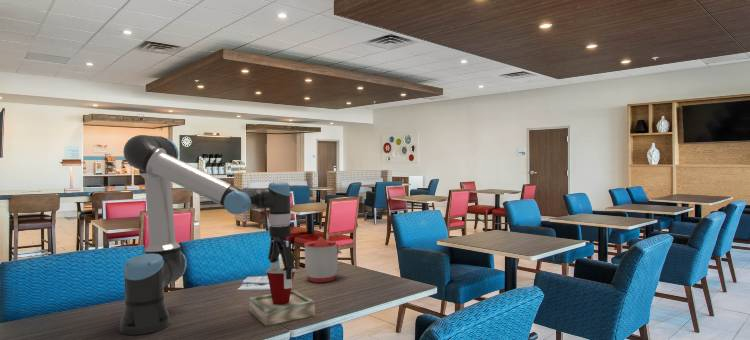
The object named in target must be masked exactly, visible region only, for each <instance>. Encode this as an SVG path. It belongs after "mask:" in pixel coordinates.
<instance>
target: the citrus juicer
mask: <svg viewBox="0 0 750 340" xmlns="http://www.w3.org/2000/svg"><path fill="white" fill-rule="evenodd" d="M303 245H304V266H305V272H306V276H307V278H308V281H310V282H313V283H327V282H328V283H330V282H332V281H333V280H335V278H336V276H337V271H338V270H337V269H338V265H339V264H338V262H339V261H338V260H339V259H338V258H339V257H338V256H339V254H340V255H341V254H342V255H343V252H342V251H341V250H340V249H339V244H338V243H336V241H334V240H327V239H325V238H323V236H319V237H318V238H317V240H312V241H307V242H304V243H303ZM329 281H330V282H329Z"/></svg>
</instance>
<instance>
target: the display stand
mask: <svg viewBox="0 0 750 340" xmlns="http://www.w3.org/2000/svg"><path fill="white" fill-rule="evenodd" d="M248 299H249V300H248V301H249V303H248V304H249V313H251V314H252V315H253V316H254V317H255V318H256V319H257V320H259V321H260V323H262V324H263V325H264V326H265V327H267V326H272V325H276V324H280V323H281V324H282V323H286V322H291V321H296V320H299V319H305V318H309V317H315V316H316V311H315V310H316V306H315V305H316V304H315V303H316V302H315V301H314V300H313V299H311V298H309V297H307V296H306V295H305V294H303V293H301V292H300V291H298V290H296V289H293V290H292V289H291V293H290V300H289V302H288V303H286V304H274V303H273V301H272V295H271V293H269V294H263V295H257V296H251V297H249V298H248Z"/></svg>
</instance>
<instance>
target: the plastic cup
mask: <svg viewBox="0 0 750 340" xmlns="http://www.w3.org/2000/svg"><path fill="white" fill-rule="evenodd" d="M283 269H284V267H283V268H282V267H281V268H280V267H278V268H277V269H271V268H268V269H266V270H265V273H266V276H268V279H269V285H270V290H269V292H270V294H271V295H272V301H273V303H274V304H286V303H288V302H289V300H290V293H291V290H292V288H288V289H284V271H283ZM296 271H297V269H296V268H294V269H292V283H293V280H294V276H295V272H296Z"/></svg>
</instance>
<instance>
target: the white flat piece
mask: <svg viewBox="0 0 750 340" xmlns="http://www.w3.org/2000/svg"><path fill="white" fill-rule="evenodd" d="M236 290H237V291H270V285H269V279H268V276H267V275H262V276H247V277H246V278H245V279H244V280H242V281H241V285H240V287H239V288H237V289H236Z"/></svg>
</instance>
